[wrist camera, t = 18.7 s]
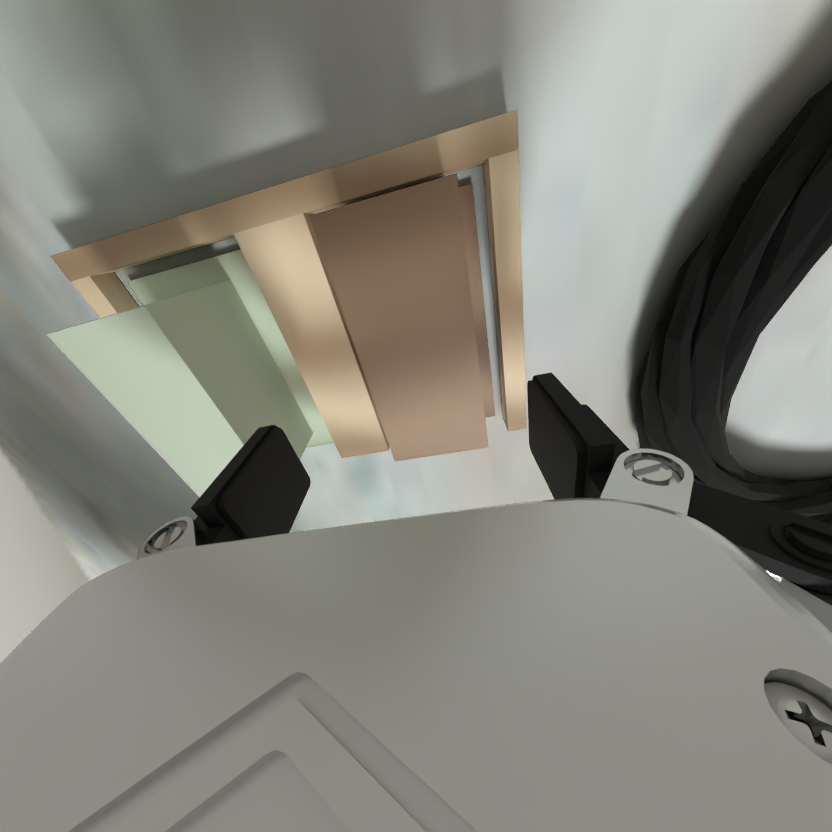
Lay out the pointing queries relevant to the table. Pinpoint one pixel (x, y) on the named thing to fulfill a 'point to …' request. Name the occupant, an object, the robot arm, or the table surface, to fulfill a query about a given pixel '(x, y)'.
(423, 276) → the walnut bar
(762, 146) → the table surface
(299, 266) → the oak rack
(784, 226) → the cable lock
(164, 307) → the sage bar
